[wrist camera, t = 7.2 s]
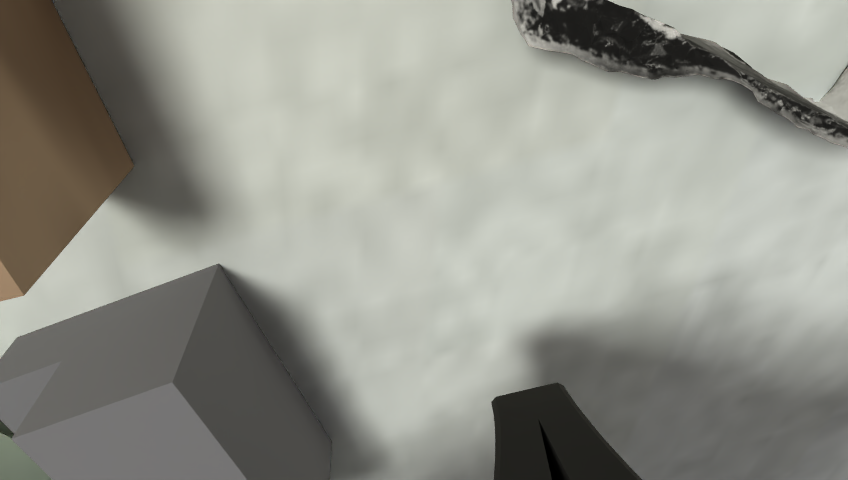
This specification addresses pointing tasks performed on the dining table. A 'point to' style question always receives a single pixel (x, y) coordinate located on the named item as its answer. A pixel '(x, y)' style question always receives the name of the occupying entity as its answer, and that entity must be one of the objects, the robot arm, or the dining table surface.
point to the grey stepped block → (161, 392)
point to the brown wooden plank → (48, 144)
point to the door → (17, 463)
